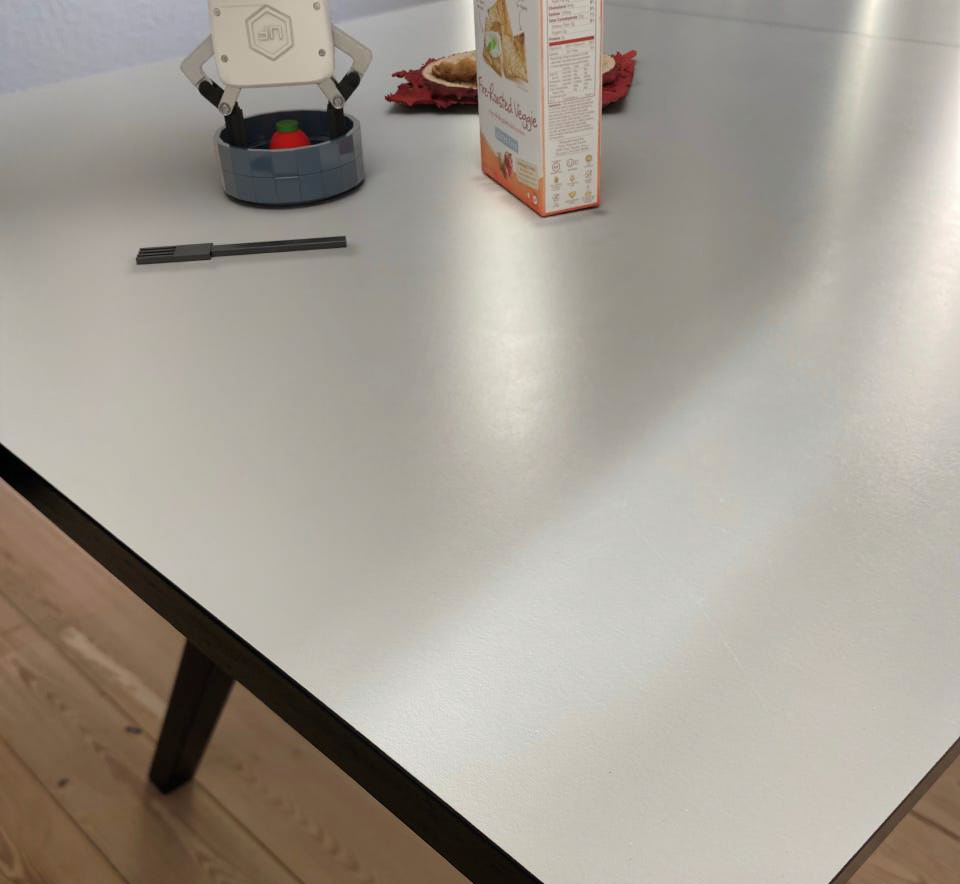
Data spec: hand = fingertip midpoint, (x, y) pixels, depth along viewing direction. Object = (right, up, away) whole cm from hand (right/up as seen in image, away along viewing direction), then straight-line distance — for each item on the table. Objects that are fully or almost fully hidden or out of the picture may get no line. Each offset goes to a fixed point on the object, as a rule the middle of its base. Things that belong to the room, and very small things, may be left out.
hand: (290, 154), depth 102 cm
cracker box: (+23, -4, -2) cm, 23 cm away
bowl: (0, -2, +2) cm, 3 cm away
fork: (-2, -13, -10) cm, 16 cm away
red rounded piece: (0, -2, +2) cm, 2 cm away
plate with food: (+22, +19, +26) cm, 39 cm away
